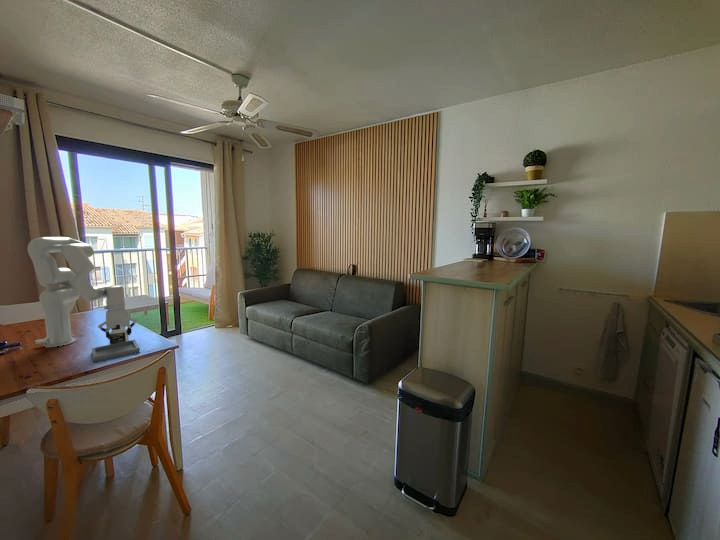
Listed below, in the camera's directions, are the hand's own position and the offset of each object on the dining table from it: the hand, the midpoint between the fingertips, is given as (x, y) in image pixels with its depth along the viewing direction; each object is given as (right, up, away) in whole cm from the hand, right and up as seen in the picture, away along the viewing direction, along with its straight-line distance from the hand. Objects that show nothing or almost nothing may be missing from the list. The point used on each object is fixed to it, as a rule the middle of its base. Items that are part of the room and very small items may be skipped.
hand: (119, 336), depth 165 cm
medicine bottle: (0, -4, 0) cm, 4 cm away
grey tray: (+9, -5, -13) cm, 17 cm away
